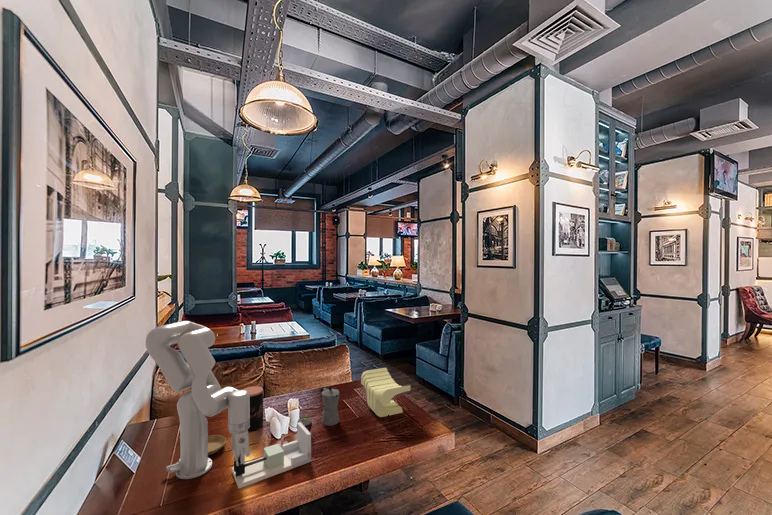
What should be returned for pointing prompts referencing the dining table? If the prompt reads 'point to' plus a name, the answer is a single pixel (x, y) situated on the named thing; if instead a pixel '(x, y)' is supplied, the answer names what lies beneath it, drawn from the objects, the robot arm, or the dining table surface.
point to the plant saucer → (215, 443)
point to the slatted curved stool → (382, 391)
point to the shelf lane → (293, 457)
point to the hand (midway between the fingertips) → (239, 472)
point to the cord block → (271, 456)
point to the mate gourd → (306, 422)
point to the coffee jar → (255, 407)
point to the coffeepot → (330, 406)
